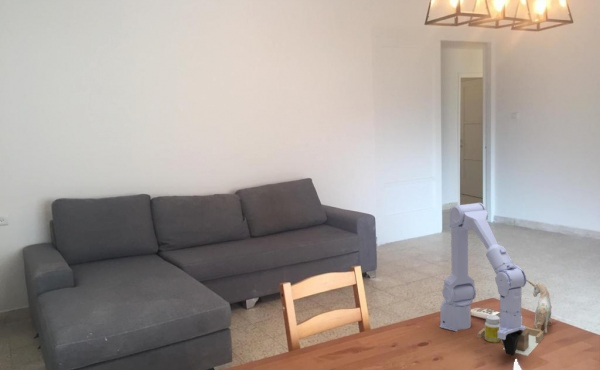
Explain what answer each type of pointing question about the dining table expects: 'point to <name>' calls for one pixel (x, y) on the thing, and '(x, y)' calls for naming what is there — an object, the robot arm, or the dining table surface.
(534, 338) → the jig board
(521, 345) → the block
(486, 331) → the supplement bottle
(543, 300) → the unicorn figurine
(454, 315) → the robot arm
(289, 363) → the dining table surface
